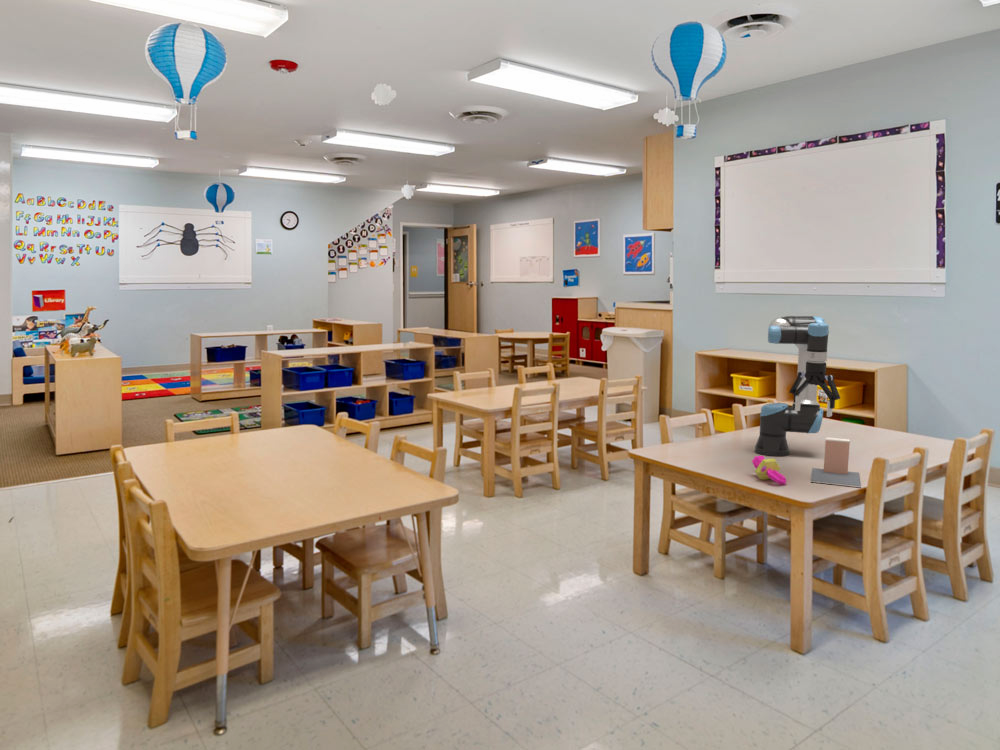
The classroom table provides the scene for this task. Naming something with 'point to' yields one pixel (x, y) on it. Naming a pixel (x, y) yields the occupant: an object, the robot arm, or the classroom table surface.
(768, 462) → the toy
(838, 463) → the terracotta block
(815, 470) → the slate mat
